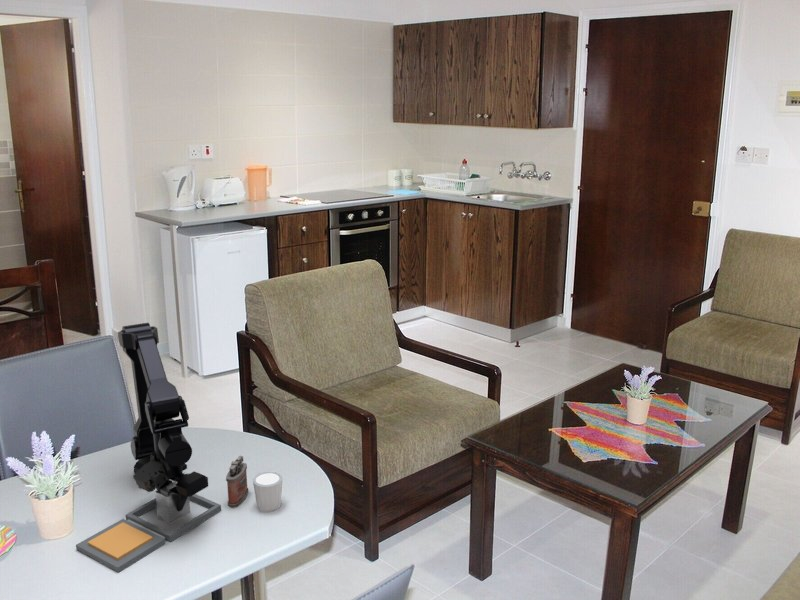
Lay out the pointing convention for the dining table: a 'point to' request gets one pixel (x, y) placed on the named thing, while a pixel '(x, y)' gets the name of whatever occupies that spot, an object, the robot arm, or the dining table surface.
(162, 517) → the block
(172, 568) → the dining table surface
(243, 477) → the red tin
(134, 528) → the lid
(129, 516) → the gray square frame
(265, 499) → the grey cup
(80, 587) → the dining table surface
